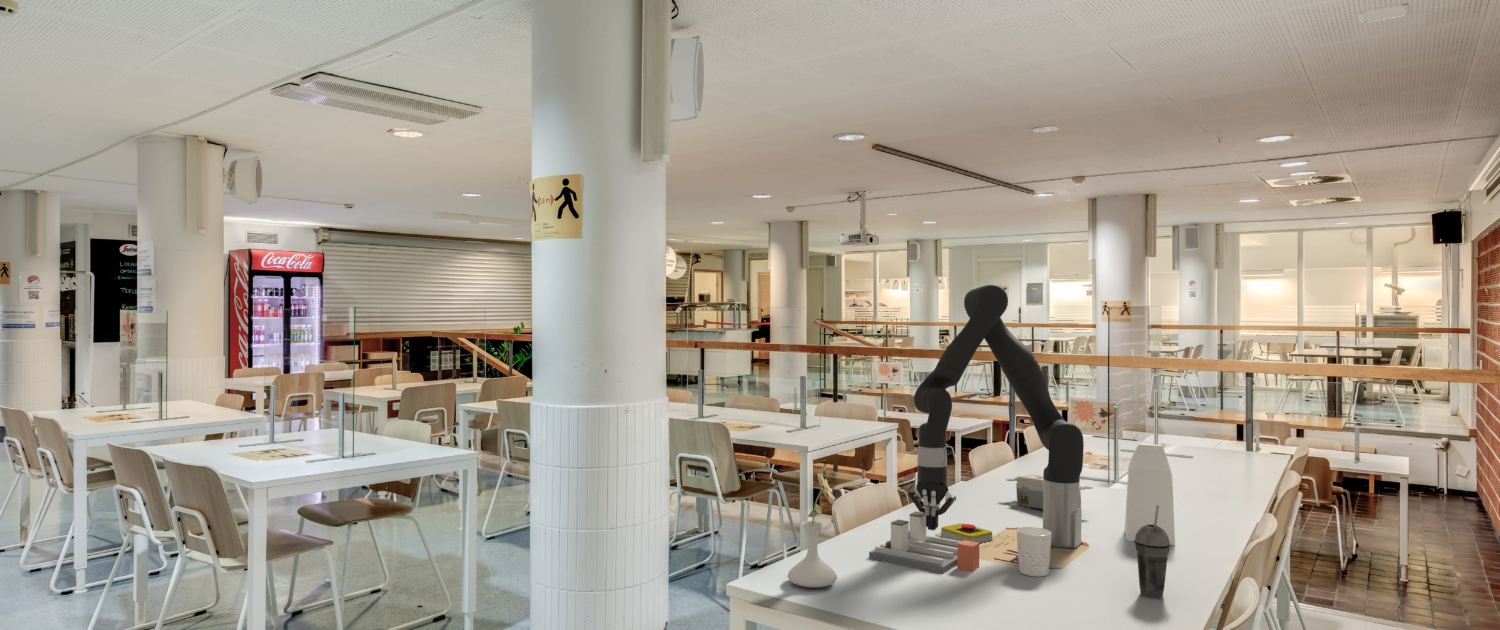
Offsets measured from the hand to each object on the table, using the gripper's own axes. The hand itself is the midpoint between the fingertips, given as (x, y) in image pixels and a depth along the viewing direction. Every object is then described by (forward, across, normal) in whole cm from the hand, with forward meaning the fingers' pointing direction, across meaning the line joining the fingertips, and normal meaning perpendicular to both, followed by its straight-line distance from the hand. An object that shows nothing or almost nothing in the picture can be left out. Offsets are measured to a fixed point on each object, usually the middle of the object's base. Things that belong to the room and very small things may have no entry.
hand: (931, 529), depth 217 cm
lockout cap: (+6, -13, +8) cm, 16 cm away
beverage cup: (+6, -53, +2) cm, 53 cm away
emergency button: (+6, -3, -17) cm, 18 cm away
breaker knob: (+4, +4, +11) cm, 12 cm away
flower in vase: (+6, +11, +41) cm, 43 cm away
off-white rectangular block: (+4, +4, 0) cm, 6 cm away
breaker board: (+6, 0, +5) cm, 7 cm away
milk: (+6, -43, -50) cm, 66 cm away
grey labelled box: (+6, -10, -68) cm, 69 cm away
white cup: (+6, -27, +2) cm, 28 cm away
